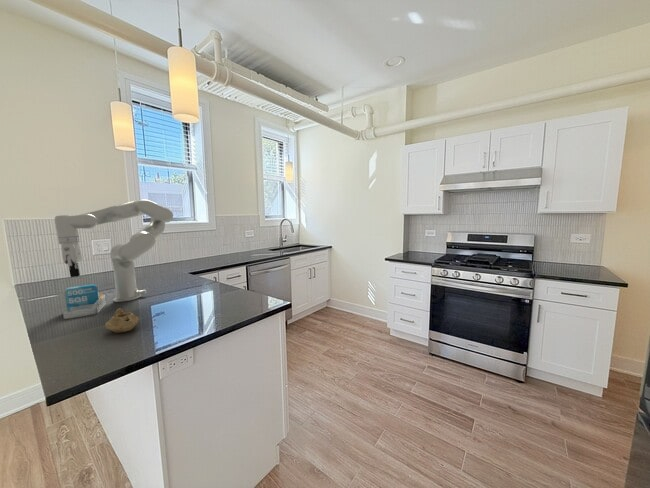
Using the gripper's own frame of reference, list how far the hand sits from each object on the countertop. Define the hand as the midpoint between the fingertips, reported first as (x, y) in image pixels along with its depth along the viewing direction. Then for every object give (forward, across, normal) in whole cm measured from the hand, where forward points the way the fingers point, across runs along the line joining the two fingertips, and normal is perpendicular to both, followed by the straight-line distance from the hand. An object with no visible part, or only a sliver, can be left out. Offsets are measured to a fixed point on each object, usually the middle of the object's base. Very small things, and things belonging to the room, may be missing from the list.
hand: (75, 276), depth 135 cm
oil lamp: (+18, -47, -24) cm, 55 cm away
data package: (+18, -1, -1) cm, 18 cm away
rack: (+17, -5, -3) cm, 18 cm away
